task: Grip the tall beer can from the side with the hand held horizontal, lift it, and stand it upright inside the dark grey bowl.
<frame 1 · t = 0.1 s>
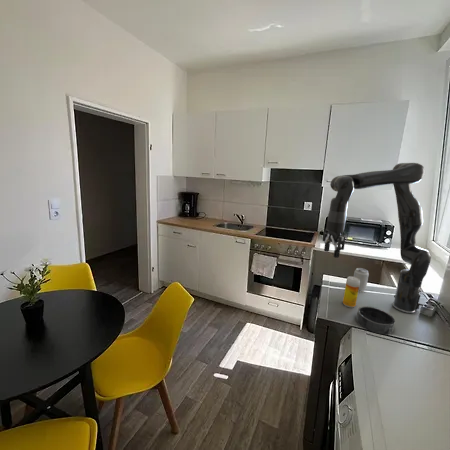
hand: (331, 254, 115), 29 cm above the table, tool pointing down, fingers open, 8 cm apart
beer can: (348, 305, 128), on the table
dark grey bowl: (373, 323, 112), on the table
can: (358, 288, 147), on the table
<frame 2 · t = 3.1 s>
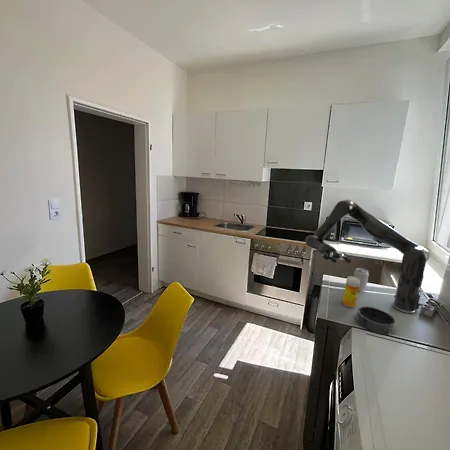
hand: (342, 261, 133), 20 cm above the table, tool horizontal, fingers open, 8 cm apart
nothing on the table moved.
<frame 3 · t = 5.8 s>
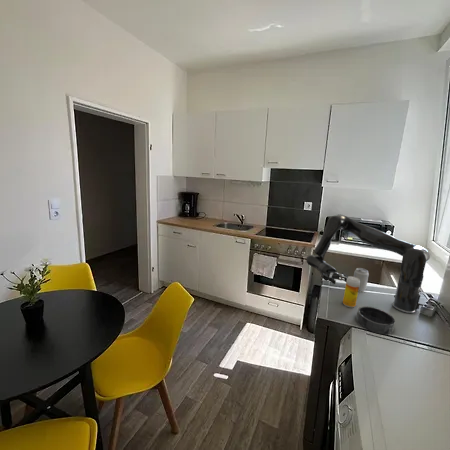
hand: (342, 282, 134), 9 cm above the table, tool horizontal, fingers open, 8 cm apart
nothing on the table moved.
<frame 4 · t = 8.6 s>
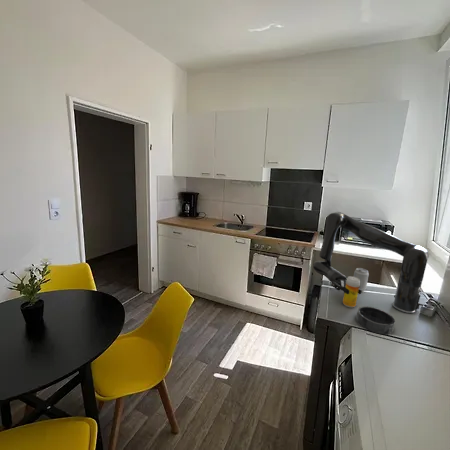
hand: (354, 292, 123), 8 cm above the table, tool horizontal, fingers closed on beer can, 6 cm apart
beer can: (348, 305, 128), on the table, touching gripper
everything else where it was.
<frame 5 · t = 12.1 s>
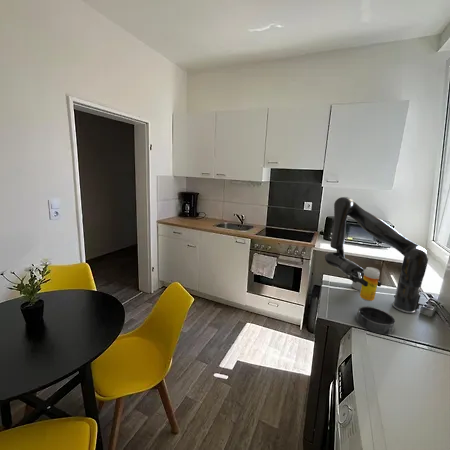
hand: (373, 284, 112), 18 cm above the table, tool horizontal, fingers closed on beer can, 6 cm apart
beer can: (366, 298, 116), point 9 cm above the table, touching gripper
everything else where it was.
when the fingers open (9 cm above the table, at t = 16.0 s): beer can stays where it is, resting on dark grey bowl.
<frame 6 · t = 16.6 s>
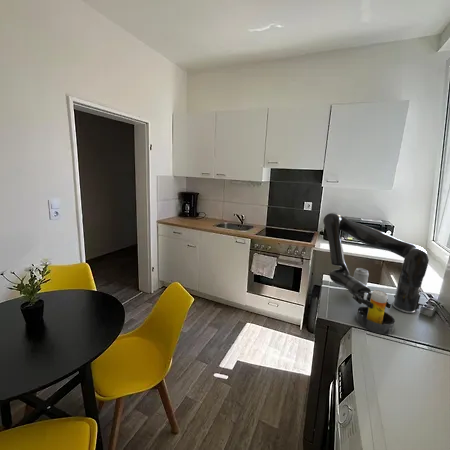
hand: (381, 306, 108), 10 cm above the table, tool horizontal, fingers open, 8 cm apart
beer can: (373, 322, 112), resting on dark grey bowl
everything else where it was.
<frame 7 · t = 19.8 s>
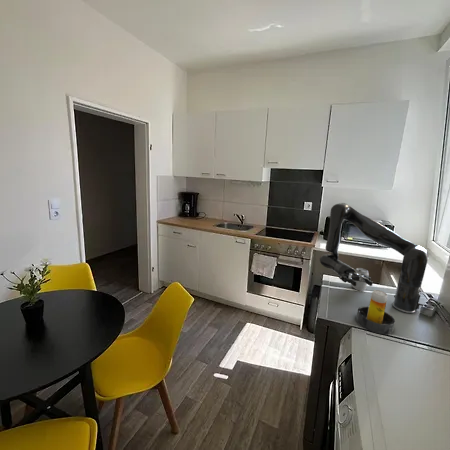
hand: (363, 284, 120), 14 cm above the table, tool horizontal, fingers open, 8 cm apart
nothing on the table moved.
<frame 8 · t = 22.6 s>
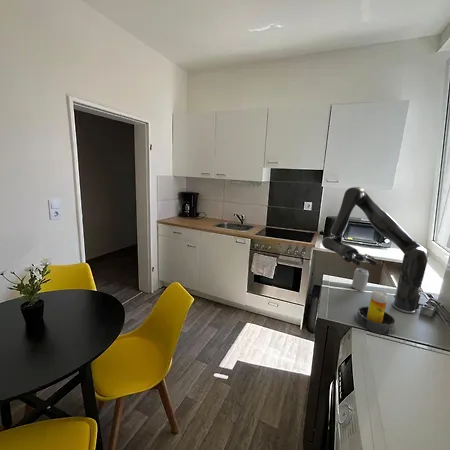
hand: (367, 263, 117), 25 cm above the table, tool horizontal, fingers open, 8 cm apart
nothing on the table moved.
at the end: beer can inside the target area in the dark grey bowl (0.1 cm from its centre), point 0.4 cm above the dark grey bowl's base; beer can tilted 0°; the gripper is holding nothing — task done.
